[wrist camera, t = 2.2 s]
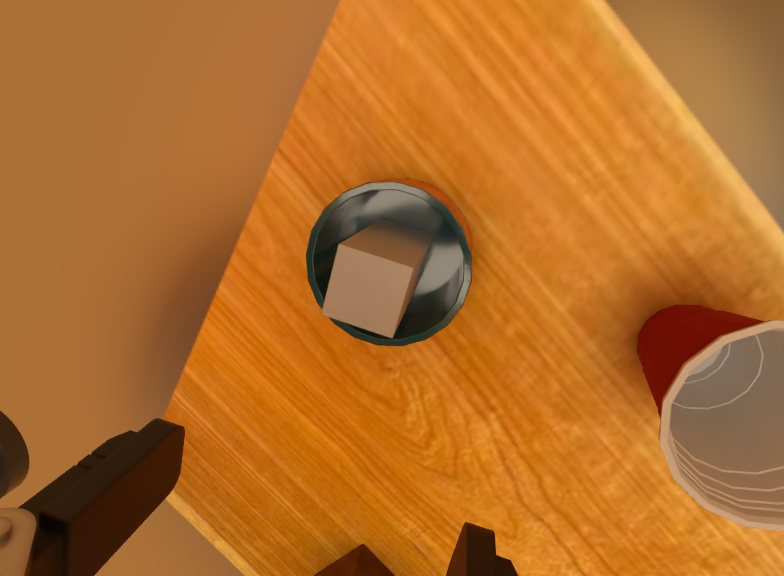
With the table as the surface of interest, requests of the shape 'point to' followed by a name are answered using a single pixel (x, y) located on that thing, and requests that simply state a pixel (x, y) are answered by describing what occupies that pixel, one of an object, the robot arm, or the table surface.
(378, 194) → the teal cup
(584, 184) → the table surface
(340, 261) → the block
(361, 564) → the pedestal
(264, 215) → the table surface
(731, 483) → the plastic cup
